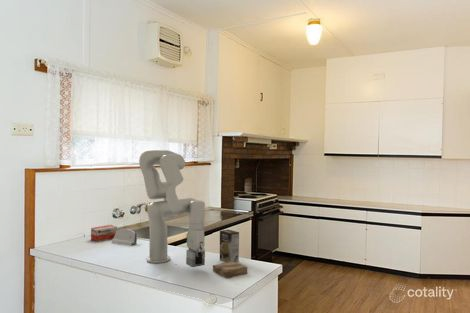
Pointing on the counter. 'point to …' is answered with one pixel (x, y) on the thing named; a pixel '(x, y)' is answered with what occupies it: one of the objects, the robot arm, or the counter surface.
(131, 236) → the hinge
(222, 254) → the coffee box
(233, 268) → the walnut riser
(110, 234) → the medicine box
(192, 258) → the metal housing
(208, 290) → the counter surface
